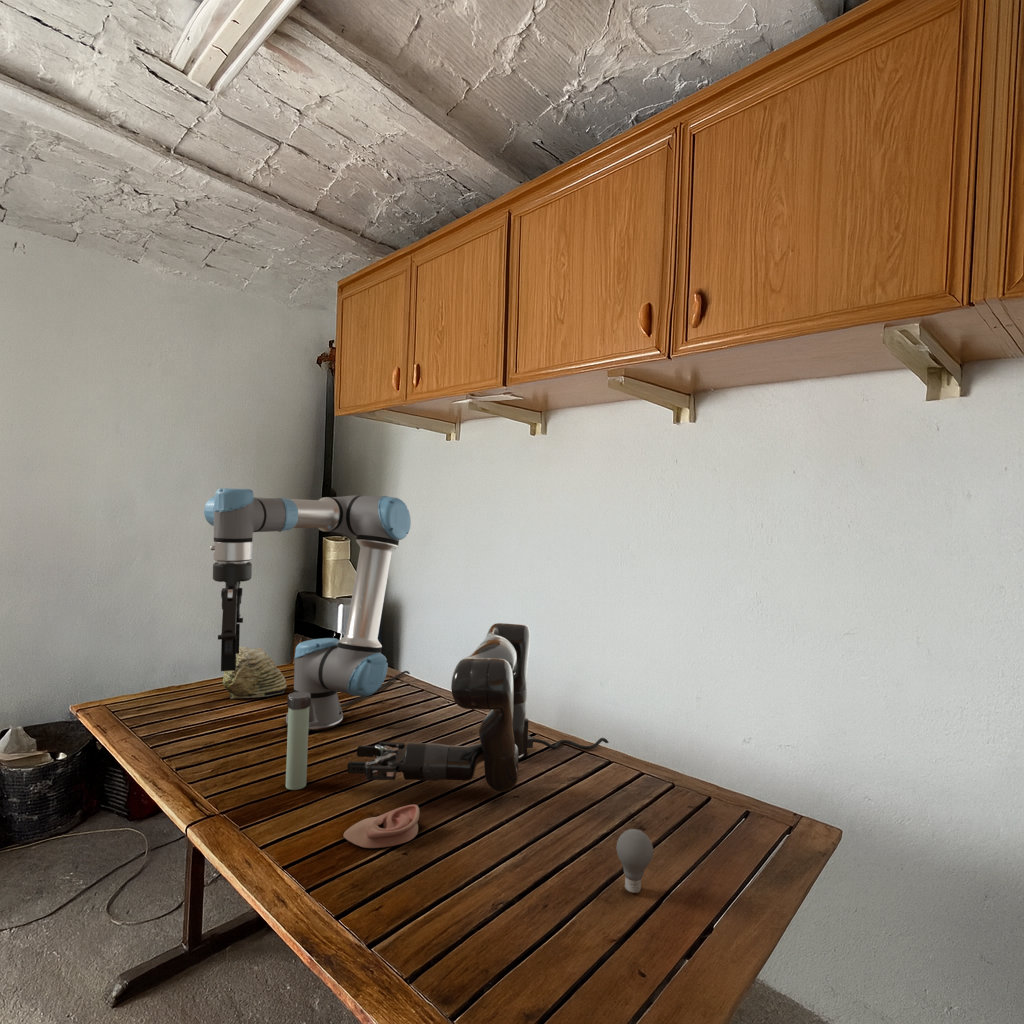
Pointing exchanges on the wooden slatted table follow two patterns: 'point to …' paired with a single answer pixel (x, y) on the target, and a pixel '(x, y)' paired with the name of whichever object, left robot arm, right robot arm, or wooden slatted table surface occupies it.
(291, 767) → the pale green tube
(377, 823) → the anatomical model
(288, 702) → the lid
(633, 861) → the light bulb
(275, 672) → the fossil
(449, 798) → the wooden slatted table surface
